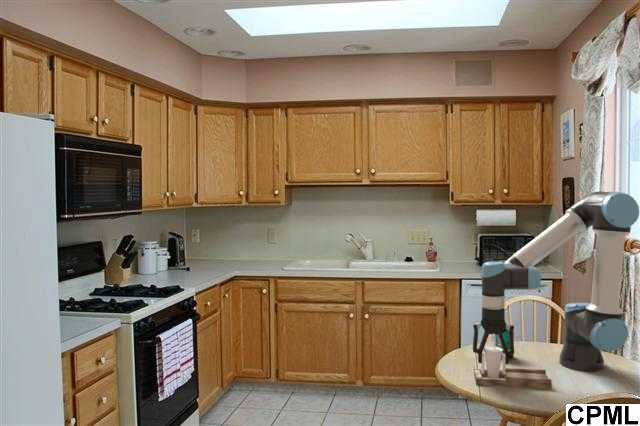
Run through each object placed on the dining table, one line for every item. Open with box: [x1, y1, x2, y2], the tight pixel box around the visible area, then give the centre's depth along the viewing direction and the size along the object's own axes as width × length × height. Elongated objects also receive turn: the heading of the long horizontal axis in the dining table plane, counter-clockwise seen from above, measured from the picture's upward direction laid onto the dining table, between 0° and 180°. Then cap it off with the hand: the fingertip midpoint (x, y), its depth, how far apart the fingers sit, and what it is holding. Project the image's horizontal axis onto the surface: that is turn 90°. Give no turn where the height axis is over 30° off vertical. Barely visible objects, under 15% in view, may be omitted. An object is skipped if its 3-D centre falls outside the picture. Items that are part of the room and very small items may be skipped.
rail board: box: [473, 367, 552, 390], centre depth 189 cm, size 24×10×3 cm, turn 78°
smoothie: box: [483, 336, 503, 379], centre depth 190 cm, size 6×6×14 cm
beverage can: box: [494, 327, 515, 360], centre depth 215 cm, size 7×7×12 cm
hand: (493, 372), depth 190 cm, fingers closed on smoothie, 6 cm apart
